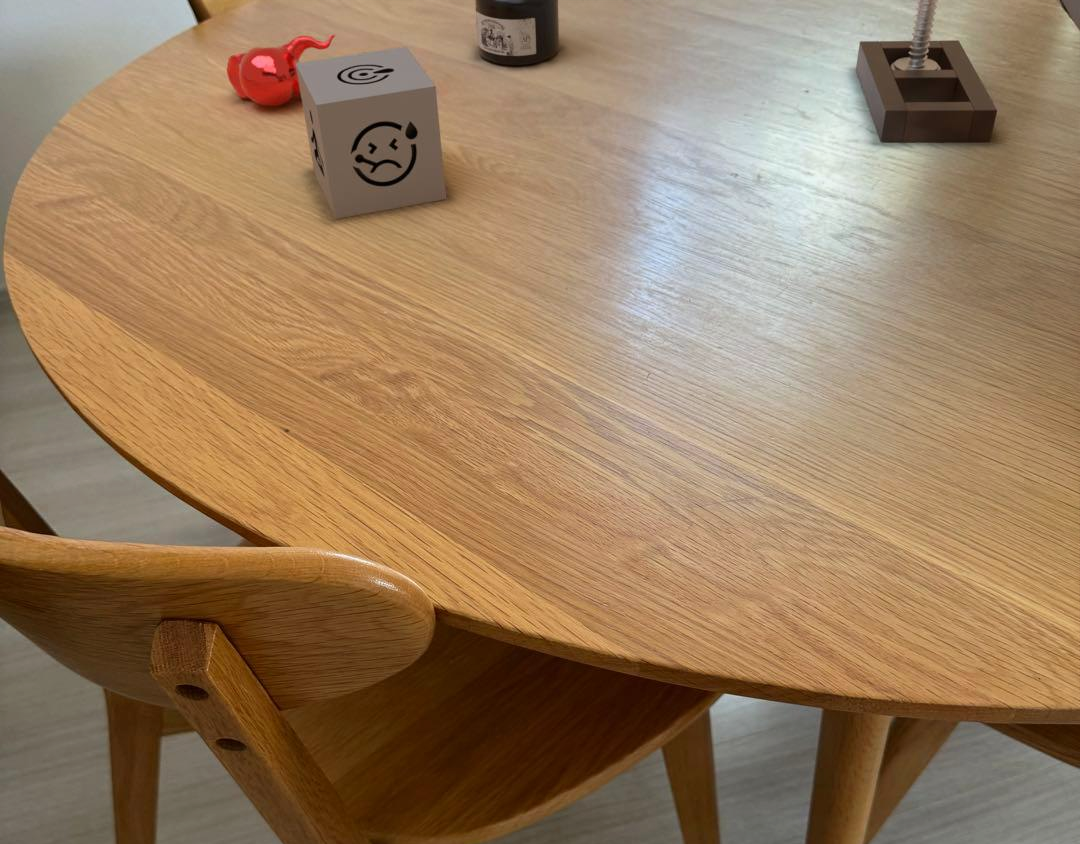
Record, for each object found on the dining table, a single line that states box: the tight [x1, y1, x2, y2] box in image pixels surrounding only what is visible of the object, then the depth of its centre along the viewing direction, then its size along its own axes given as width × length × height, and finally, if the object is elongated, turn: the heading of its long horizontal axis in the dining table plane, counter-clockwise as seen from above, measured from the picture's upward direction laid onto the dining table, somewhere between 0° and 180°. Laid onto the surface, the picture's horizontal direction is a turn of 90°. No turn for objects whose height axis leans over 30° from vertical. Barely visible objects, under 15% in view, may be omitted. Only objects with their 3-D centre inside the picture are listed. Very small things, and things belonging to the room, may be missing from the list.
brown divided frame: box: [855, 39, 998, 143], centre depth 113 cm, size 10×18×3 cm, turn 176°
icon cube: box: [295, 46, 447, 220], centre depth 102 cm, size 10×10×10 cm
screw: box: [890, 0, 941, 71], centre depth 113 cm, size 13×5×5 cm
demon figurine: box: [226, 34, 336, 107], centre depth 119 cm, size 8×6×12 cm
